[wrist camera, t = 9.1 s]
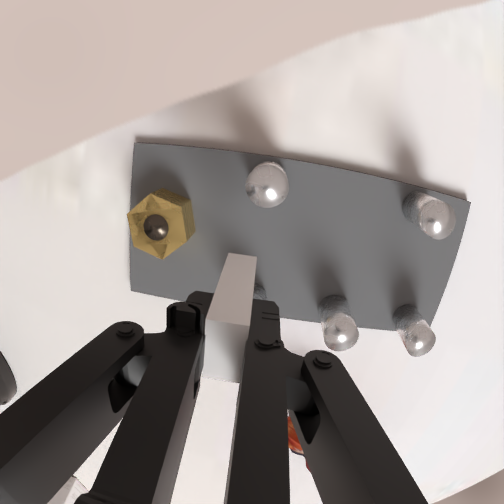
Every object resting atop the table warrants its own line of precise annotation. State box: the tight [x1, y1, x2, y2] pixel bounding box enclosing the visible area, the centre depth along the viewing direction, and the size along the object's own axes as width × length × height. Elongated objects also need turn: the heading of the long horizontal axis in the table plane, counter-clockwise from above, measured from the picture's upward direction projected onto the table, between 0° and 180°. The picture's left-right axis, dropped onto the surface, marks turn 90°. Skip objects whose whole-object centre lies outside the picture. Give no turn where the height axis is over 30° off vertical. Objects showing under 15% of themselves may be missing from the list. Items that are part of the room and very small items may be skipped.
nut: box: [127, 188, 196, 260], centre depth 21 cm, size 5×4×2 cm
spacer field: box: [245, 161, 456, 357], centre depth 20 cm, size 15×11×4 cm
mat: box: [130, 143, 471, 331], centre depth 23 cm, size 26×12×1 cm, turn 82°
